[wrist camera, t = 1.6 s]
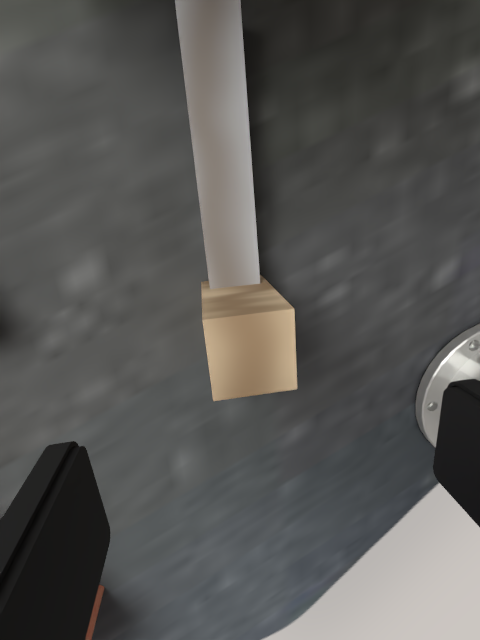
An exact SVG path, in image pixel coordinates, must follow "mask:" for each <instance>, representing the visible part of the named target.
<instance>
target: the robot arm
mask: <svg viewBox="0 0 480 640" xmlns="http://www.w3.org/2000/svg"><path fill="white" fill-rule="evenodd" d="M415 407H416V418H417V422H418V425H419V428H420V430H421V431H422V433H423V435H424V436H425V438H426V439H427V440H428V441H429V442H430V443H431V444H432V445H433V446H434V447H435V448H436V449H435V456H434V464H433V470H434V474H435V476H436V478H437V480H438V481H439V482H440V484H441V485H442V486H443V487H444V488H445V489H446V490H447V491H448V492H449V494H450V495H451V496H452V497H453V498H454V499H455V500H456V501H457V502H458V504H460V506H461V507H462V508H463V509H464V510H465V511H466V512H467V513H468V515H469V516H470V517H471V518H472V519H473V520H474V521H475V522H476V523H477V525H478V526H479V527H480V324H478V325H476V326H474V327H472V328H470V329H468V330H466V331H464V332H463V333H461V334H460V335H458V336H457V337H456V338H454V339H453V340H451V341H450V342H449V343H448V344H447V345H446V346H445V347H444V348H443V349H442V350H441V351H440V352H439V353H438V354H437V356H436V357H435V358H434V360H433V361H432V362H431V363H430V365H429V366H428V368H427V370H426V372H425V374H424V376H423V377H422V380H421V383H420V385H419V388H418V391H417V397H416V404H415ZM109 542H110V527H109V523H108V520H107V516H106V513H105V510H104V506H103V503H102V500H101V496H100V493H99V490H98V487H97V483H96V480H95V477H94V473H93V470H92V467H91V463H90V460H89V457H88V453H87V450H86V448H85V447H84V446H80V447H79V446H78V444H77V443H76V442H74V441H72V442H66V443H59V444H53V445H49V446H47V447H46V449H45V450H44V452H43V453H42V455H41V456H40V458H39V460H38V461H37V463H36V465H35V466H34V468H33V469H32V471H31V473H30V474H29V476H28V477H27V479H26V481H25V482H24V484H23V485H22V487H21V489H20V490H19V492H18V494H17V495H16V497H15V498H14V500H13V502H12V503H11V505H10V506H9V508H8V510H7V511H6V513H5V515H4V516H3V517H2V518H1V520H0V640H85V638H86V634H87V631H88V627H89V623H90V619H91V615H92V611H93V607H94V603H95V599H96V595H97V591H98V587H99V583H100V579H101V575H102V571H103V567H104V563H105V559H106V555H107V551H108V547H109Z"/></svg>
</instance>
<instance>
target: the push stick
mask: <svg viewBox="0 0 480 640" xmlns="http://www.w3.org/2000/svg"><path fill="white" fill-rule="evenodd" d="M175 5H176V14H177V23H178V31H179V40H180V48H181V56H182V64H183V72H184V81H185V89H186V97H187V105H188V113H189V122H190V130H191V138H192V146H193V154H194V163H195V171H196V179H197V187H198V195H199V204H200V212H201V220H202V228H203V236H204V245H205V253H206V261H207V269H208V277H209V281H205V282H201V287H202V318H203V327H204V335H205V342H206V349H207V357H208V364H209V372H210V379H211V387H212V394H213V401H218V400H225V399H232V398H239V397H246V396H253V395H260V394H267V393H274V392H281V391H288V390H295V389H297V367H296V340H295V313H294V308H293V307H292V306H291V305H290V304H289V303H288V302H287V301H286V300H285V299H284V298H283V297H282V296H281V295H280V294H279V293H278V292H277V291H276V290H275V289H274V288H273V287H272V286H271V285H270V284H269V283H268V281H267V280H266V279H265V278H264V277H263V276H262V275H260V272H259V258H258V244H257V229H256V215H255V201H254V187H253V172H252V158H251V144H250V130H249V116H248V101H247V87H246V73H245V59H244V44H243V30H242V16H241V2H240V0H175Z"/></svg>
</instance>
